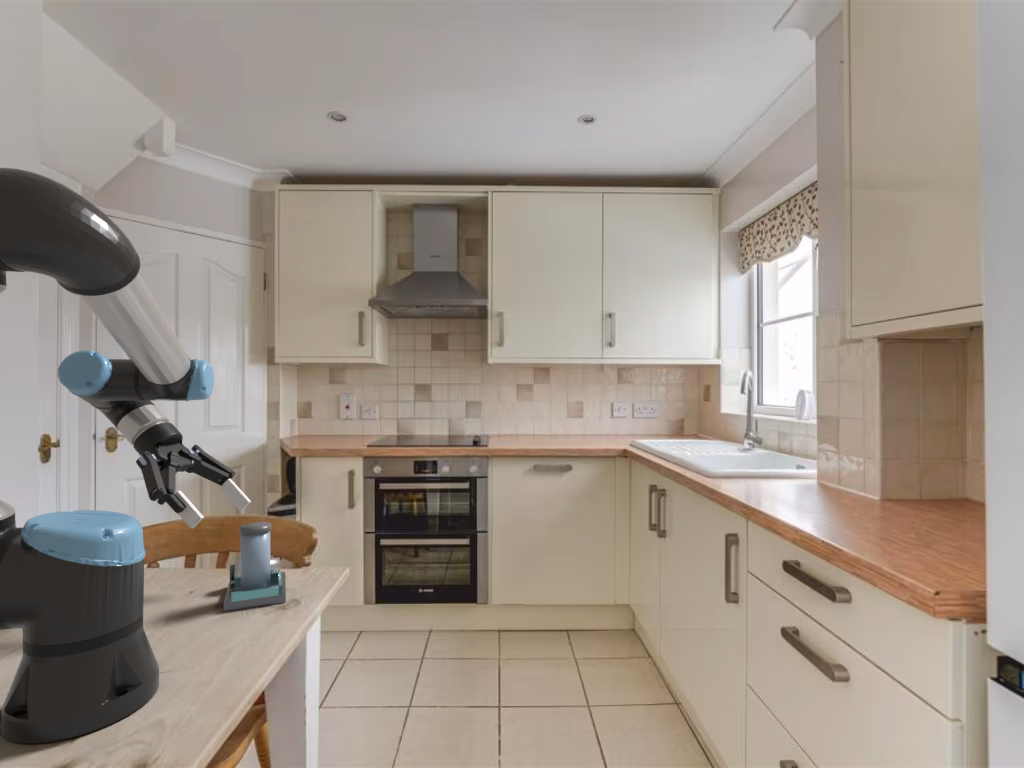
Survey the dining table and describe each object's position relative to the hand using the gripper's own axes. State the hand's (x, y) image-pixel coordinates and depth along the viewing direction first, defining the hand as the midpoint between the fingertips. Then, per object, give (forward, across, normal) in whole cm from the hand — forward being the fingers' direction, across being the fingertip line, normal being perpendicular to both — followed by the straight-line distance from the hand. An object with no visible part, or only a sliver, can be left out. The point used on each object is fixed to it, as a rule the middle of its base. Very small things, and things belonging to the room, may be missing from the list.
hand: (223, 514), depth 99 cm
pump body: (+15, 0, -5) cm, 15 cm away
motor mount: (+15, -2, -7) cm, 16 cm away
